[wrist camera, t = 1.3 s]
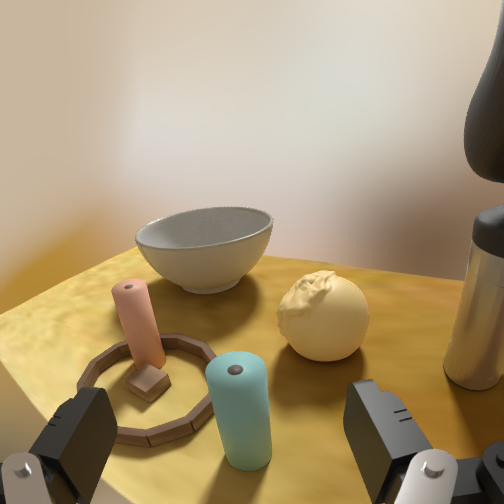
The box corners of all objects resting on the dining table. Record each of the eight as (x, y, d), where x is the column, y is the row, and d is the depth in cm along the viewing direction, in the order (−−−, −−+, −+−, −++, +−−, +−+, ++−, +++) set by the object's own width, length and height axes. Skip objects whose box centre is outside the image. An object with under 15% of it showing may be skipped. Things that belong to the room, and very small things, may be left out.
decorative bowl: (121, 299, 60) (106, 242, 56) (193, 251, 83) (186, 205, 78) (240, 327, 49) (232, 255, 45) (293, 261, 72) (291, 208, 67)
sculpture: (298, 317, 51) (297, 254, 47) (371, 330, 45) (379, 264, 41) (266, 360, 41) (261, 290, 38) (353, 380, 36) (363, 307, 32)
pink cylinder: (150, 348, 45) (131, 276, 41) (172, 358, 43) (153, 282, 39) (129, 364, 42) (104, 290, 37) (150, 376, 39) (125, 298, 35)
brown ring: (151, 331, 49) (148, 321, 49) (252, 369, 40) (250, 358, 39) (60, 396, 34) (54, 385, 34) (153, 473, 25) (147, 464, 24)
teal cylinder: (241, 430, 30) (227, 345, 26) (280, 445, 28) (276, 360, 24) (217, 459, 27) (193, 377, 22) (257, 478, 25) (245, 399, 20)
